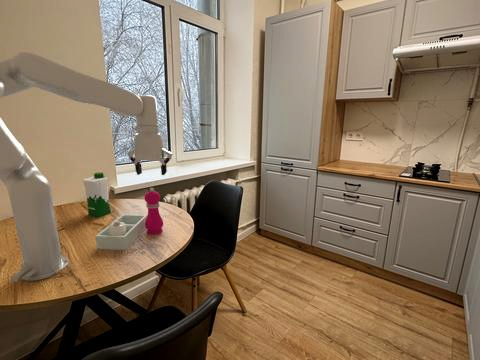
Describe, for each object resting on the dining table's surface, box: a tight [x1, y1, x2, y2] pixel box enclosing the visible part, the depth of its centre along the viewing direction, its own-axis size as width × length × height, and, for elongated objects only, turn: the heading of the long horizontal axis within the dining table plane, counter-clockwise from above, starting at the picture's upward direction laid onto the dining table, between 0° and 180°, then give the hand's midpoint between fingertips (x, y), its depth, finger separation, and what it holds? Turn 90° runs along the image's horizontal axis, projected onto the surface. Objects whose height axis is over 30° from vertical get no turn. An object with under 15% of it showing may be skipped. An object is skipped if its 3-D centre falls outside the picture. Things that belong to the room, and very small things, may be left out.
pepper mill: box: [143, 187, 164, 236], centre depth 105 cm, size 7×7×20 cm
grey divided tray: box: [95, 213, 148, 251], centre depth 102 cm, size 20×11×6 cm, turn 178°
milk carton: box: [82, 172, 112, 218], centre depth 125 cm, size 9×9×20 cm
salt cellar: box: [108, 221, 126, 236], centre depth 97 cm, size 6×6×8 cm
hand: (151, 174), depth 101 cm, fingers open, 9 cm apart
